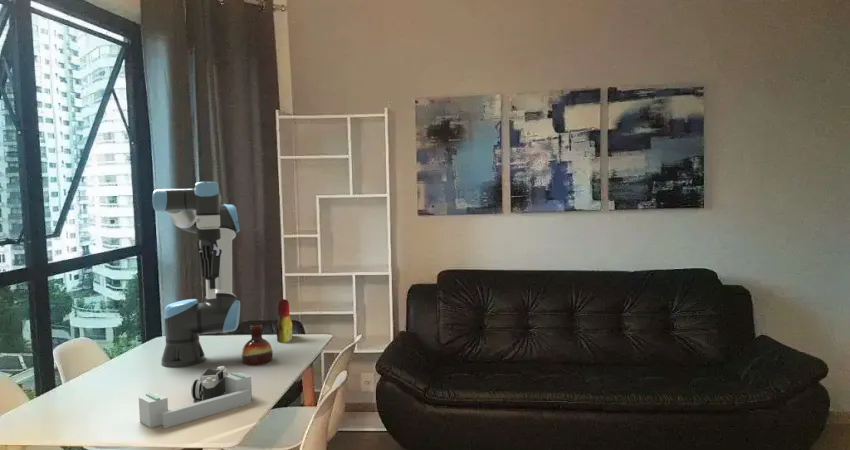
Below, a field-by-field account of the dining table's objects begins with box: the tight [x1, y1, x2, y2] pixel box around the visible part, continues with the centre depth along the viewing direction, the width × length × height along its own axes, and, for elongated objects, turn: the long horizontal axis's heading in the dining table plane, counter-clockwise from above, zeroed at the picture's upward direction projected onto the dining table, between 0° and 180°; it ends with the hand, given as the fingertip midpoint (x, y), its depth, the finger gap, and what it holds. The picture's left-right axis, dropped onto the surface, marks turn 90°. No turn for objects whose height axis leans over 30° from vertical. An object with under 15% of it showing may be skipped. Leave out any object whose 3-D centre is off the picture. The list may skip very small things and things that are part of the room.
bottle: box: [276, 298, 293, 344], centre depth 254 cm, size 12×6×20 cm, turn 1°
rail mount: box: [138, 371, 253, 429], centre depth 177 cm, size 10×31×8 cm, turn 137°
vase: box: [241, 323, 274, 366], centre depth 224 cm, size 11×11×15 cm
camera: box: [190, 365, 229, 401], centre depth 188 cm, size 16×9×10 cm, turn 1°
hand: (211, 298), depth 202 cm, fingers closed
